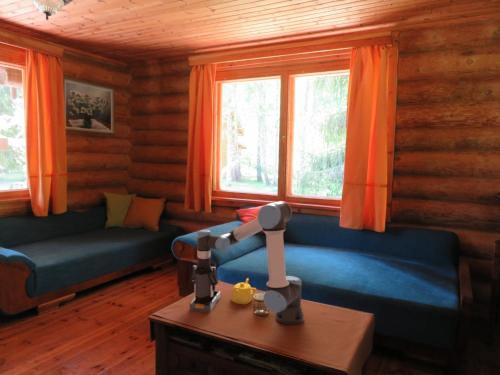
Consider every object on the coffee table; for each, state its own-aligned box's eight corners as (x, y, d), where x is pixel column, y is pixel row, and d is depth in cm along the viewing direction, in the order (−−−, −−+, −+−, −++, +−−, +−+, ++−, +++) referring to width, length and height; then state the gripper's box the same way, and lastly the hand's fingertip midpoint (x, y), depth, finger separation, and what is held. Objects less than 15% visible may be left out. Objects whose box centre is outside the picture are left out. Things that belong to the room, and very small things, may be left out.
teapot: (250, 309, 209) (251, 291, 208) (225, 305, 213) (225, 287, 212) (261, 295, 230) (261, 278, 228) (238, 292, 234) (238, 275, 233)
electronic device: (207, 298, 217) (208, 266, 215) (213, 302, 212) (213, 268, 210) (194, 302, 211) (194, 269, 209) (199, 306, 206) (199, 272, 204)
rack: (220, 297, 225) (220, 280, 224) (209, 313, 203) (209, 294, 202) (202, 295, 228) (202, 278, 226) (189, 311, 206) (189, 292, 204)
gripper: (224, 256, 210) (223, 294, 213) (188, 253, 215) (188, 291, 217) (220, 260, 203) (220, 299, 205) (183, 257, 207) (183, 295, 209)
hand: (203, 295), depth 211 cm, fingers closed on electronic device, 9 cm apart
